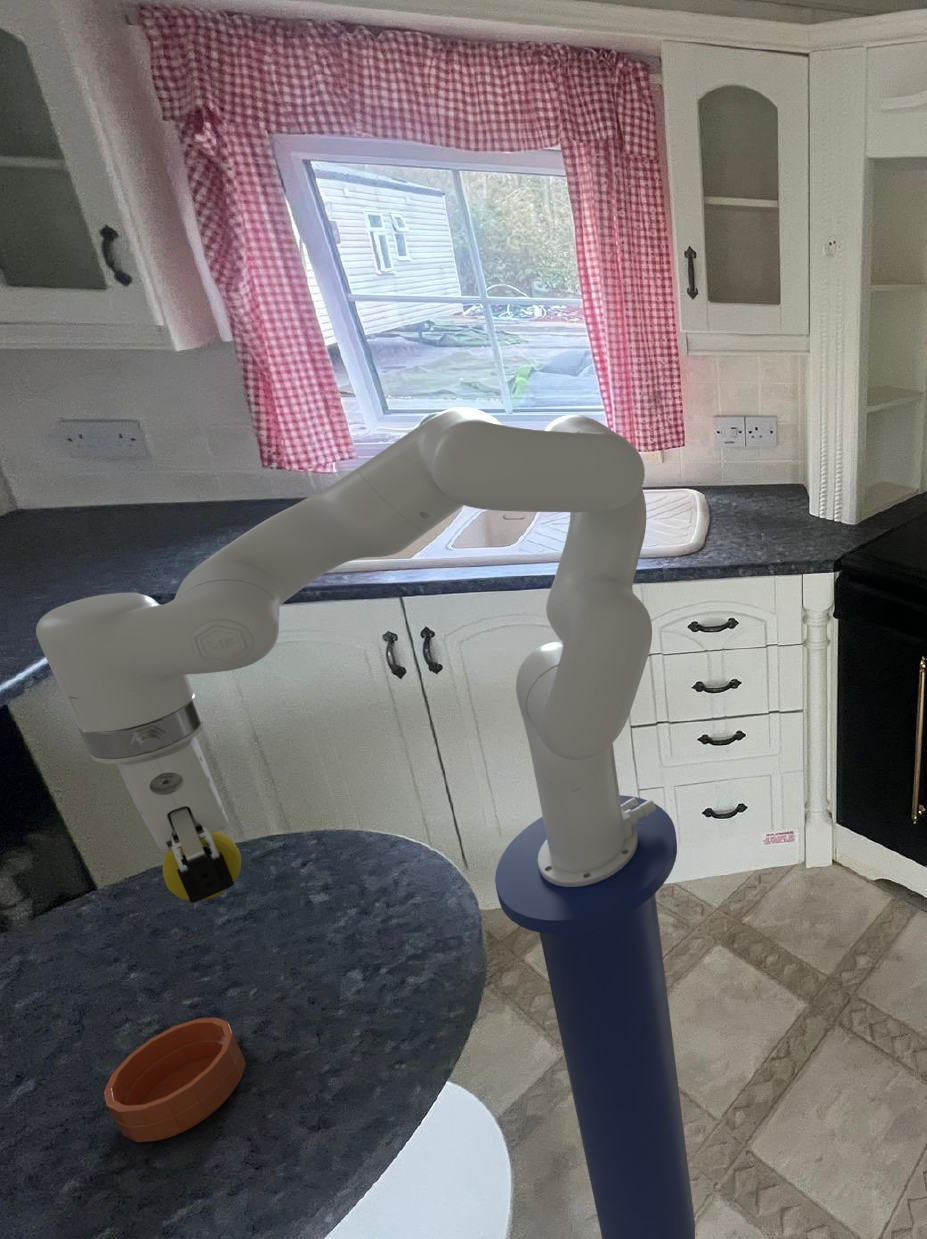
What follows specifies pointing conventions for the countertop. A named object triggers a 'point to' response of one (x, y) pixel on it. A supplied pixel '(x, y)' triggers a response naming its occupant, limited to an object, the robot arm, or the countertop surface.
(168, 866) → the lemon
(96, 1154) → the countertop surface
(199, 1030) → the bowl
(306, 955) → the countertop surface
